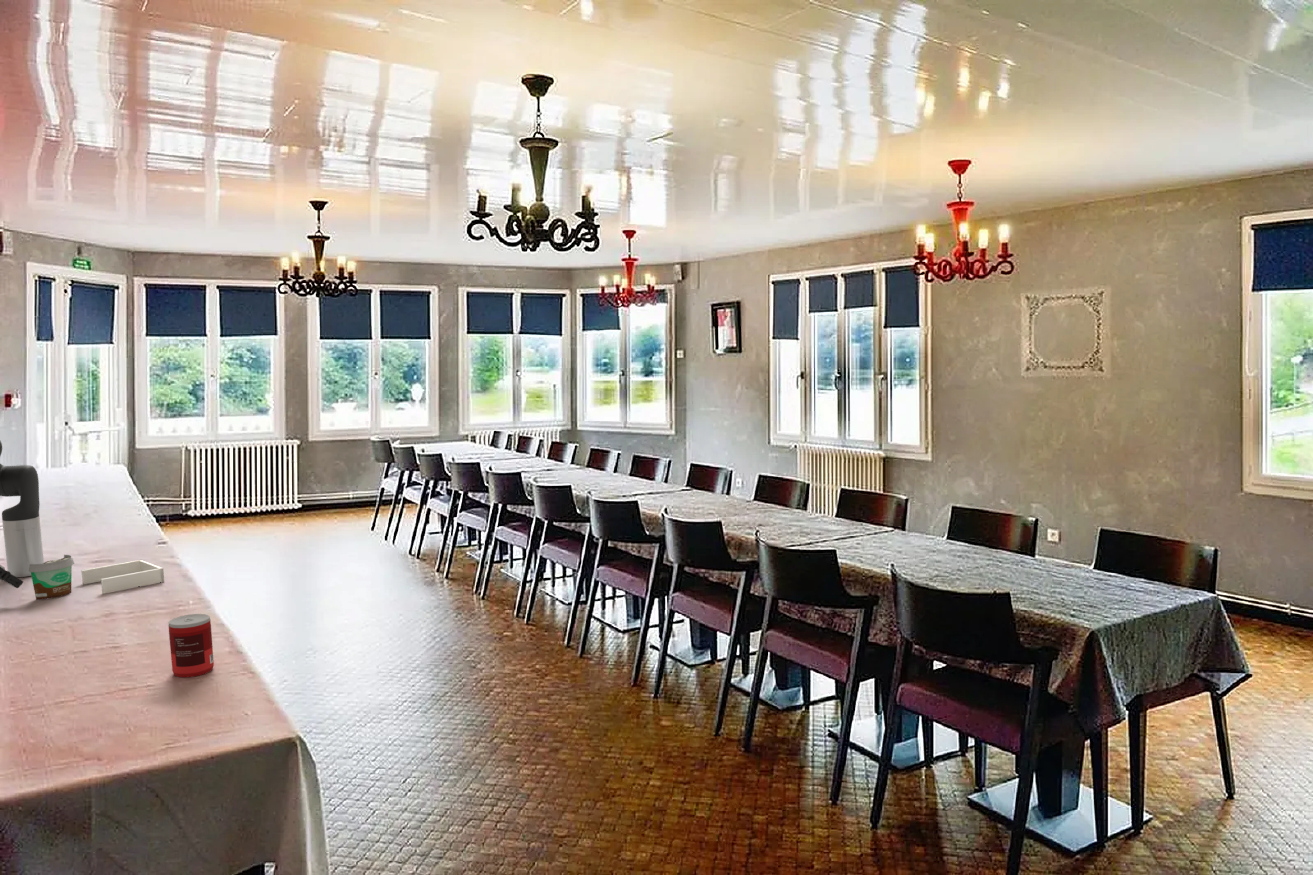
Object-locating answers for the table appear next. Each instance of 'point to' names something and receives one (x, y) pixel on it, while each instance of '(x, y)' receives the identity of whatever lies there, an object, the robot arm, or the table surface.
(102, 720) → the table surface
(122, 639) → the table surface
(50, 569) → the food container
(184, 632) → the canned food
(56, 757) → the table surface
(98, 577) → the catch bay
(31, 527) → the robot arm
